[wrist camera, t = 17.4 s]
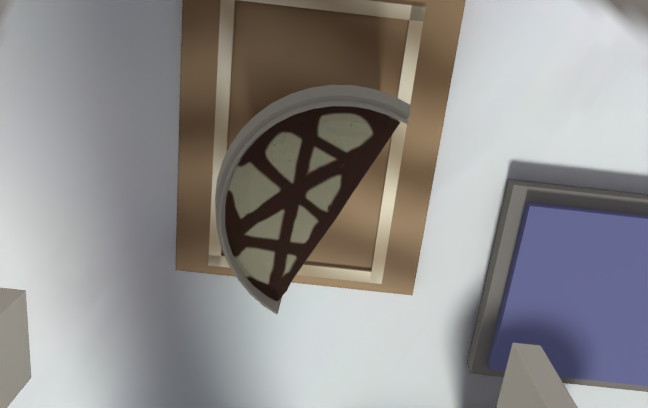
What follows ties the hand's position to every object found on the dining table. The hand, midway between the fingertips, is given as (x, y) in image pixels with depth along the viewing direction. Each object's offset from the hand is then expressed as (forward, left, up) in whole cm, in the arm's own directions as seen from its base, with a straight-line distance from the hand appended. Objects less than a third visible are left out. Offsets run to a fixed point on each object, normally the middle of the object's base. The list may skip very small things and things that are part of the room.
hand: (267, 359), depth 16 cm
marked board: (+1, 0, -23) cm, 23 cm away
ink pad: (-7, -20, -23) cm, 31 cm away
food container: (+1, +1, -22) cm, 22 cm away
